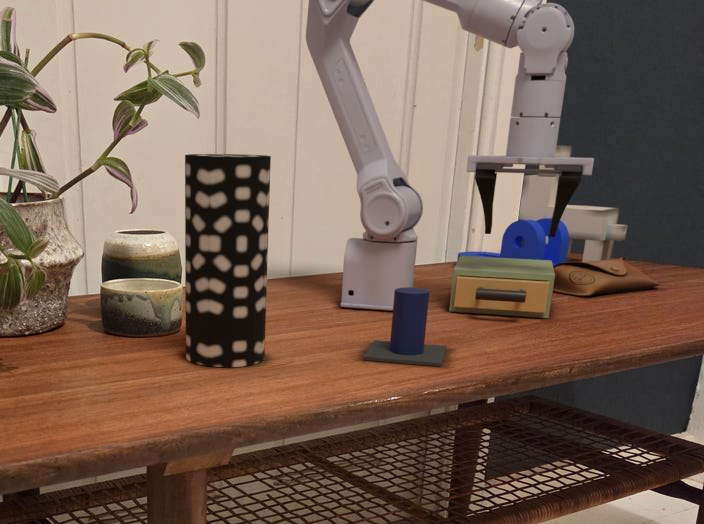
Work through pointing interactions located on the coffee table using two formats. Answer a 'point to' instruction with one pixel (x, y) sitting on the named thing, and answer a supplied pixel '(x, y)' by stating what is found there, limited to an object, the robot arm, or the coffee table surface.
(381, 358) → the mat
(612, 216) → the toy llama
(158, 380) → the coffee table surface
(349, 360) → the coffee table surface
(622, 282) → the sunglasses case
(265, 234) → the white-spotted black cylinder
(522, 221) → the bracket
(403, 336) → the dark blue cylinder
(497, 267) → the cabinet
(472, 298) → the drawer
